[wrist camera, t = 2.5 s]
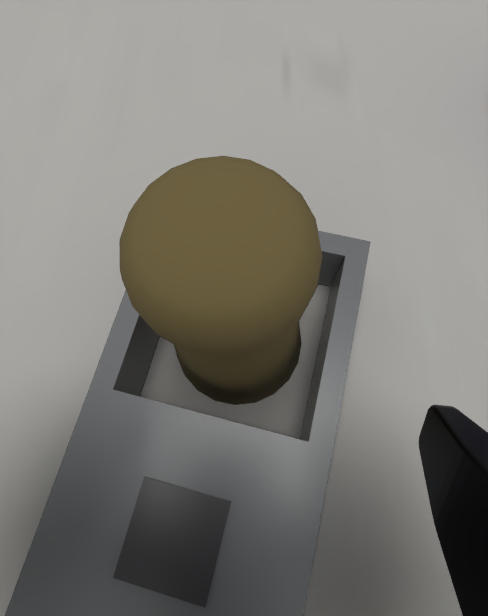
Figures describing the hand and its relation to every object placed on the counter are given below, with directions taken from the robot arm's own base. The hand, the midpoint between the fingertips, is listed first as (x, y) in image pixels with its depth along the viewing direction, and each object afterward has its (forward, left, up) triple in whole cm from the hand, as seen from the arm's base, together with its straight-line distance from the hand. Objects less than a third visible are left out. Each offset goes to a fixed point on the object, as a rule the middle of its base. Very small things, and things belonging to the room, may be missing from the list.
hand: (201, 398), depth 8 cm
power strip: (-2, +1, -10) cm, 11 cm away
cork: (+4, +1, -11) cm, 11 cm away
